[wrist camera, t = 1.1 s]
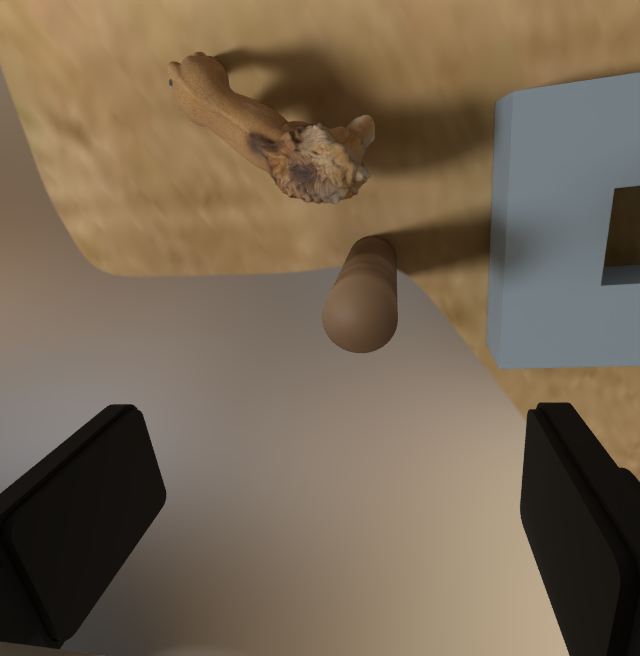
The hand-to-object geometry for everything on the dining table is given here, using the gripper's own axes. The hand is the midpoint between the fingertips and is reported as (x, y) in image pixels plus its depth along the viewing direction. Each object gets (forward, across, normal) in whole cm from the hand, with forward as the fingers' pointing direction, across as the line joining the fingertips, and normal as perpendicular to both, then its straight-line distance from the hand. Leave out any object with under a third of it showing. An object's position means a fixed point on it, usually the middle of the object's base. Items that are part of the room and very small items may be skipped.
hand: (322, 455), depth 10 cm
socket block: (+21, -16, -1) cm, 27 cm away
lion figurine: (+21, +5, -10) cm, 24 cm away
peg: (+21, 0, 0) cm, 21 cm away
